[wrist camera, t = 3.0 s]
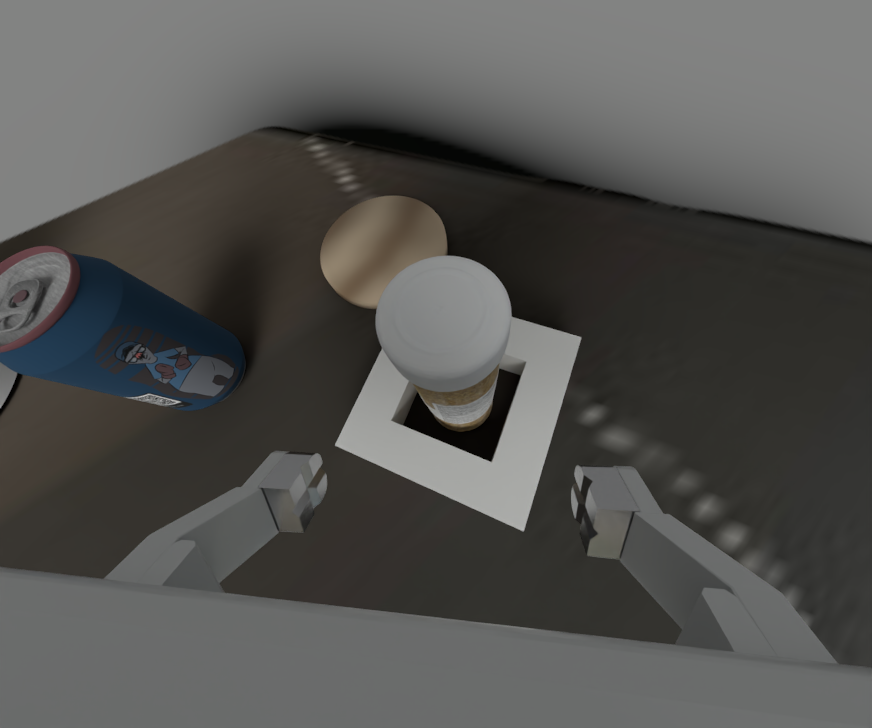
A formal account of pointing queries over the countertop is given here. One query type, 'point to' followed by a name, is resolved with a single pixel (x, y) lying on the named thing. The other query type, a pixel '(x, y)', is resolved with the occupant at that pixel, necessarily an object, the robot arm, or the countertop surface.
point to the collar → (454, 468)
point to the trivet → (379, 246)
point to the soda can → (111, 332)
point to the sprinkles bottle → (447, 335)
